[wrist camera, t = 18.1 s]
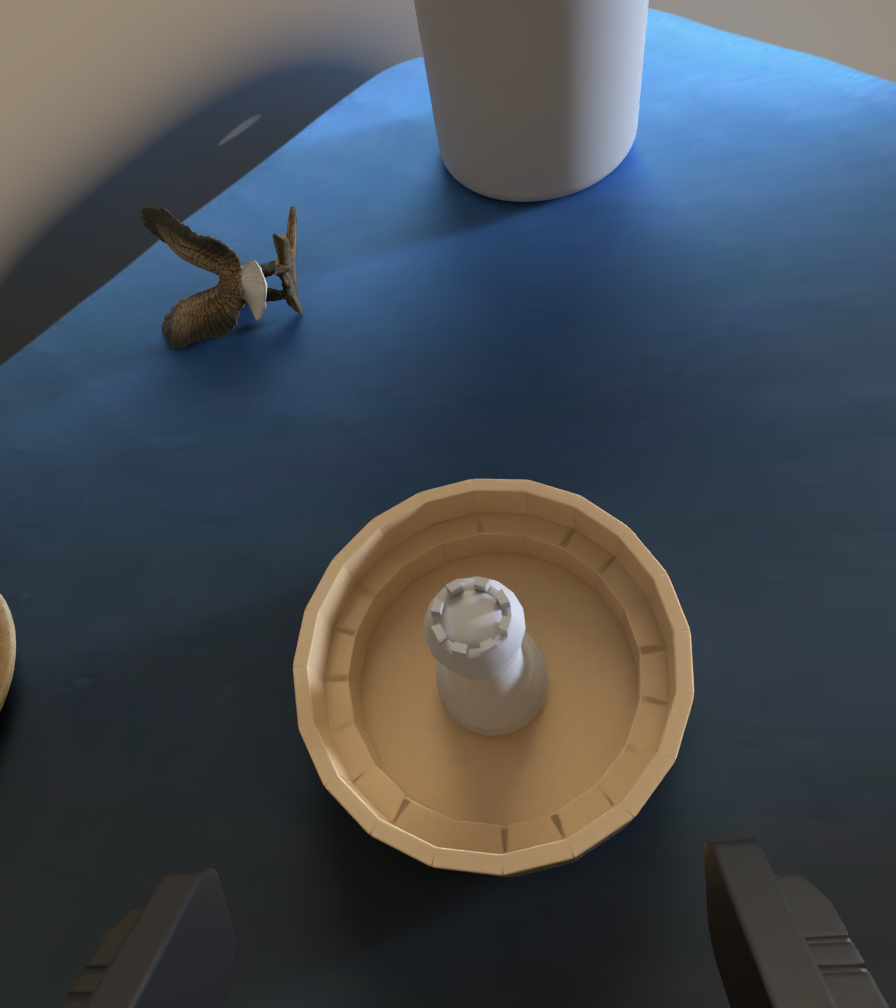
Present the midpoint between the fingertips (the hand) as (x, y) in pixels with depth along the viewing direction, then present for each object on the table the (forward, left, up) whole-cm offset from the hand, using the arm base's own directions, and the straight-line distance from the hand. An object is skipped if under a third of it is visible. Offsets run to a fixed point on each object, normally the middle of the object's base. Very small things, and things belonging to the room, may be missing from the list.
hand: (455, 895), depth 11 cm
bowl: (+1, -8, -16) cm, 18 cm away
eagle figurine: (+18, -29, -16) cm, 38 cm away
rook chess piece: (+1, -7, -16) cm, 17 cm away
